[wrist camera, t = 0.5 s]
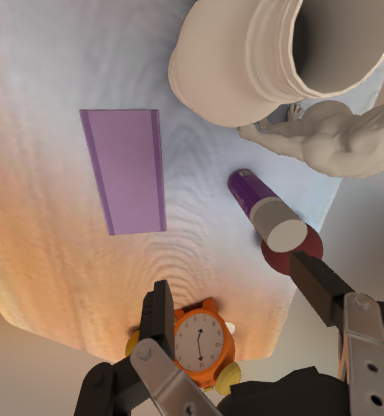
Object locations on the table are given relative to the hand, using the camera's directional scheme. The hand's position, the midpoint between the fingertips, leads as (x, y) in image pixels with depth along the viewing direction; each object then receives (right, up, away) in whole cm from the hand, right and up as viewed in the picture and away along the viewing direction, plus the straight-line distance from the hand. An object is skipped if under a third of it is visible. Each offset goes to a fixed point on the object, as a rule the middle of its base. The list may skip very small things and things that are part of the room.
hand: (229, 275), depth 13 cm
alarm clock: (-1, -21, +38) cm, 44 cm away
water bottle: (-2, +21, +13) cm, 25 cm away
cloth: (-12, +9, +19) cm, 24 cm away
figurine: (+10, +18, +17) cm, 27 cm away
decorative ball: (+15, 0, +28) cm, 32 cm away
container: (+6, +9, +22) cm, 24 cm away
